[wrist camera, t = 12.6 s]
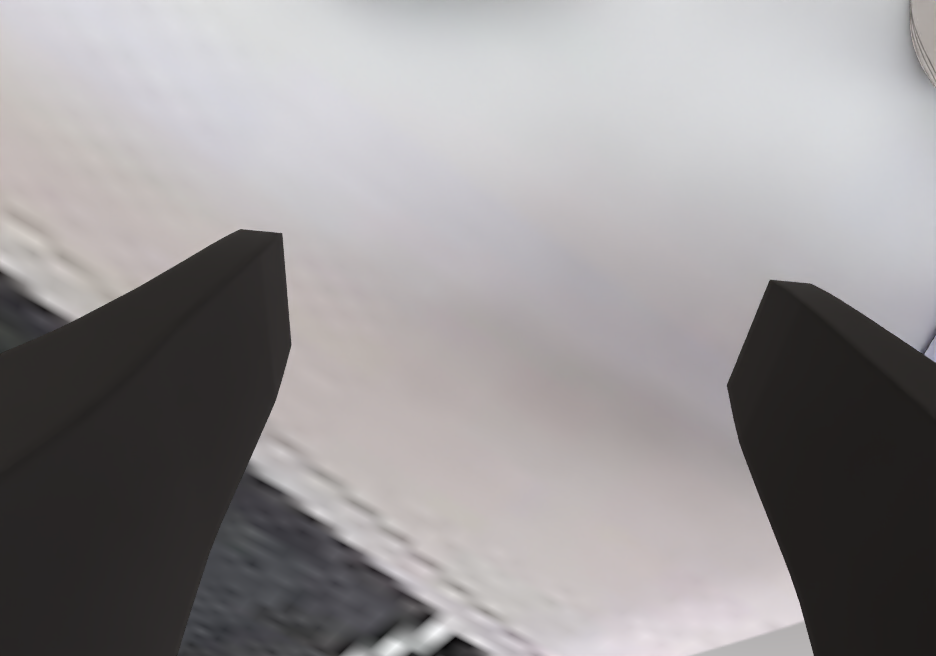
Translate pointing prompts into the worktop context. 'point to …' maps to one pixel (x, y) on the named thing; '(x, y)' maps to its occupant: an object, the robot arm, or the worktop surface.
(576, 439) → the worktop surface
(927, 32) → the mug
